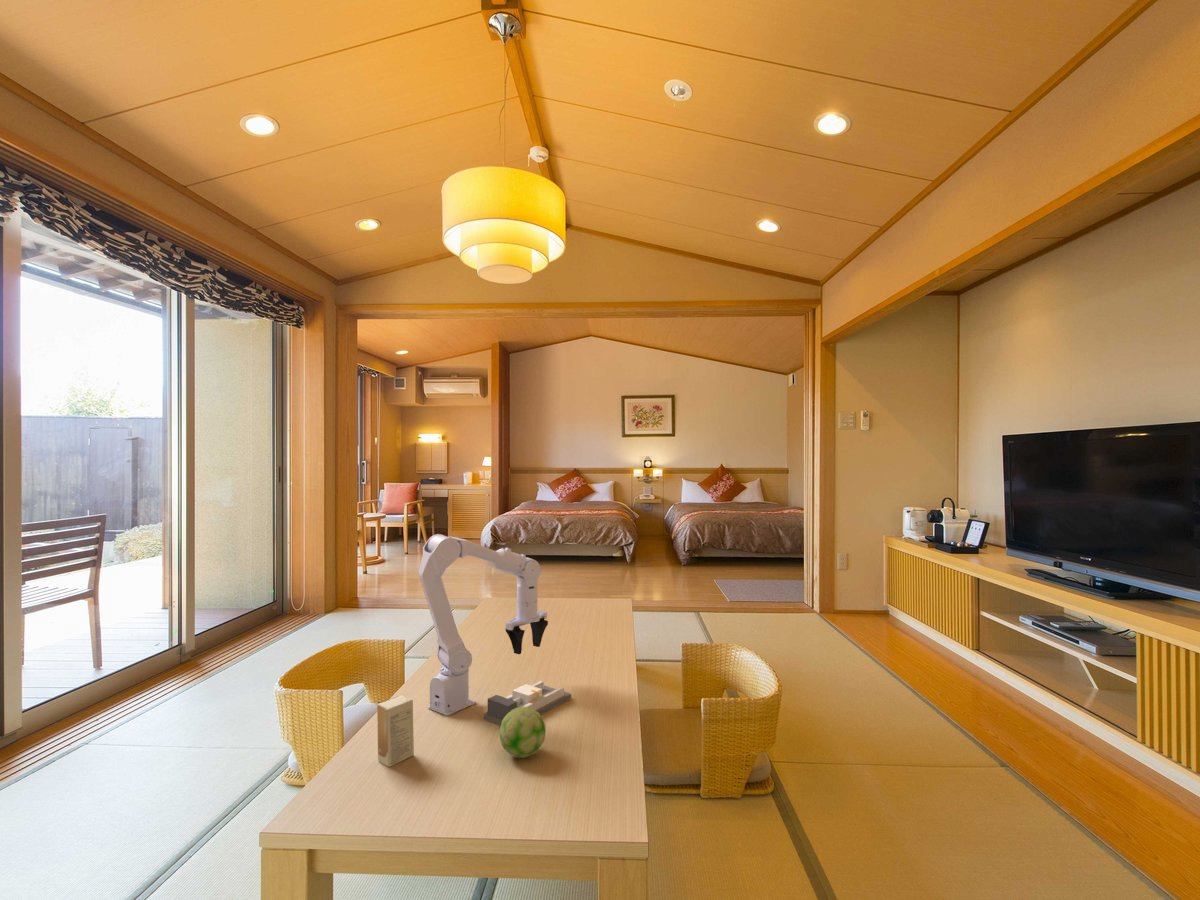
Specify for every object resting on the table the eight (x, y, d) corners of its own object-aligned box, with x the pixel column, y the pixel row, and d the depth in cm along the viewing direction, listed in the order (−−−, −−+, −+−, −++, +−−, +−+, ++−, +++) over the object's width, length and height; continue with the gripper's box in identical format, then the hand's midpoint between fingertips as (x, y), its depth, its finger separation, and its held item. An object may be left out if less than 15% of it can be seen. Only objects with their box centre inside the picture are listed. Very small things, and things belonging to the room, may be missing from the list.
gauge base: (512, 729, 136) (512, 707, 137) (483, 718, 142) (483, 697, 142) (571, 698, 154) (571, 678, 154) (543, 689, 160) (543, 670, 160)
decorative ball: (502, 770, 119) (502, 721, 119) (497, 747, 128) (497, 701, 128) (549, 763, 121) (549, 715, 122) (541, 741, 131) (541, 696, 131)
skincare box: (403, 749, 127) (403, 693, 128) (414, 756, 125) (414, 698, 125) (376, 761, 122) (376, 703, 123) (387, 768, 120) (387, 708, 120)
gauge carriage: (524, 715, 141) (524, 699, 141) (504, 708, 145) (504, 692, 145) (546, 704, 147) (546, 689, 147) (525, 697, 151) (525, 682, 151)
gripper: (518, 608, 154) (518, 660, 154) (555, 597, 166) (555, 645, 165) (500, 604, 158) (500, 654, 158) (536, 594, 170) (536, 641, 170)
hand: (527, 649), depth 162 cm, fingers open, 7 cm apart
